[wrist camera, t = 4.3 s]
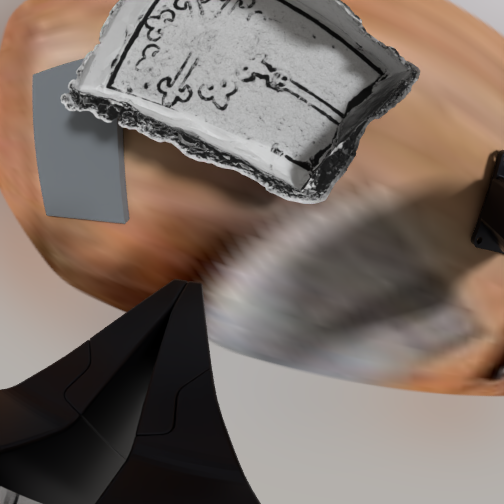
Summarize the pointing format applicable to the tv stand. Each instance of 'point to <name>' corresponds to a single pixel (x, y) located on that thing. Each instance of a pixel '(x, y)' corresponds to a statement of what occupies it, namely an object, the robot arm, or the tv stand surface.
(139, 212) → the tv stand surface
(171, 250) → the tv stand surface
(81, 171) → the mat
